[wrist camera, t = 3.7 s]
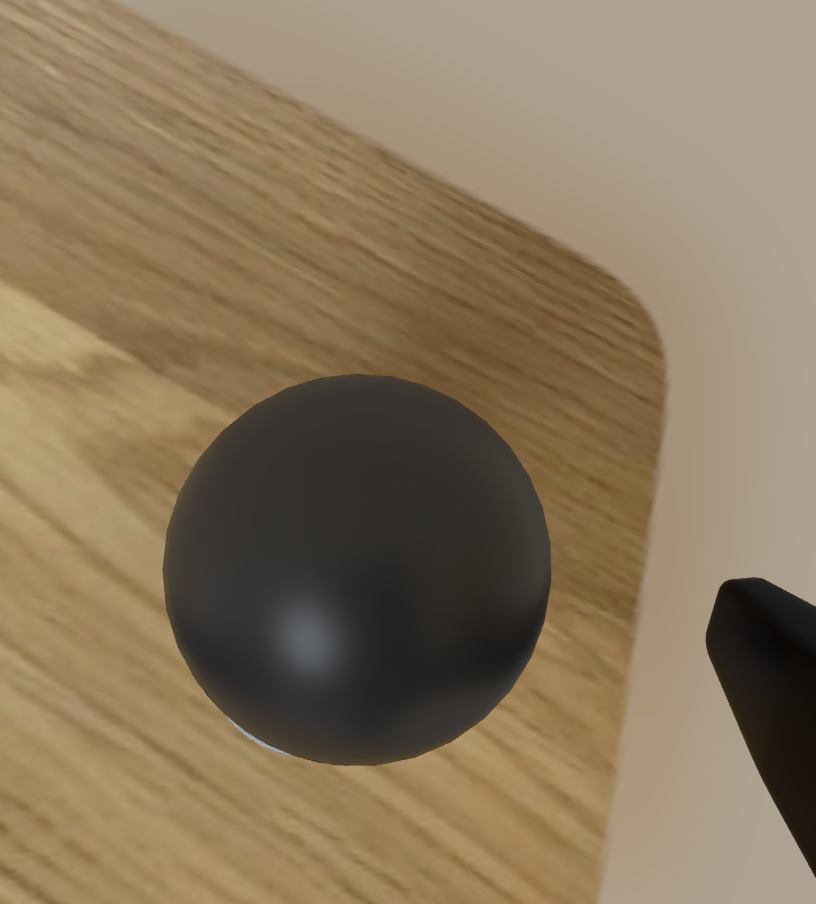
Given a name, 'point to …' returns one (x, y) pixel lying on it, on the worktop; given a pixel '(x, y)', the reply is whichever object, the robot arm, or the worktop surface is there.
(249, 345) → the worktop surface
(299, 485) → the joystick
